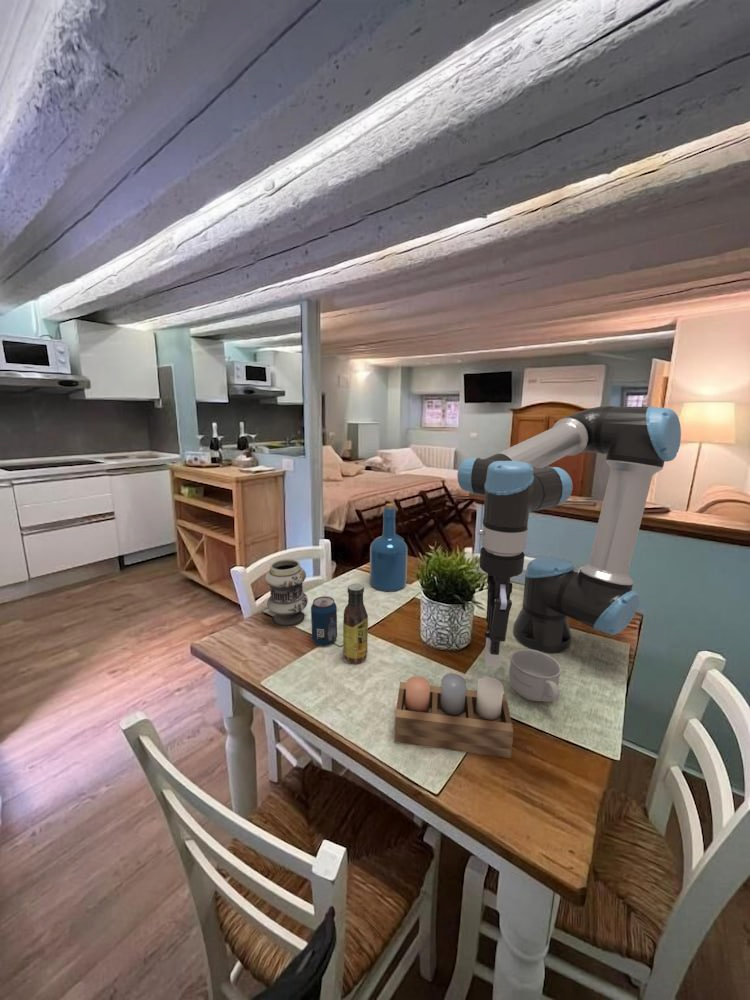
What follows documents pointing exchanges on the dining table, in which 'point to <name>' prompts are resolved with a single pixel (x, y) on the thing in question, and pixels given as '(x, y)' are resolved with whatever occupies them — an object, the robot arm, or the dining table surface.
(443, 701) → the grey rounded cylinder
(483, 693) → the white egg
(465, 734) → the wooden compartment box
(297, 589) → the apothecary jar
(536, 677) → the teacup
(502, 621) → the robot arm
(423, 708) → the peach egg
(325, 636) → the soda can
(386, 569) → the wine bottle
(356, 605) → the sauce bottle
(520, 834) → the dining table surface
